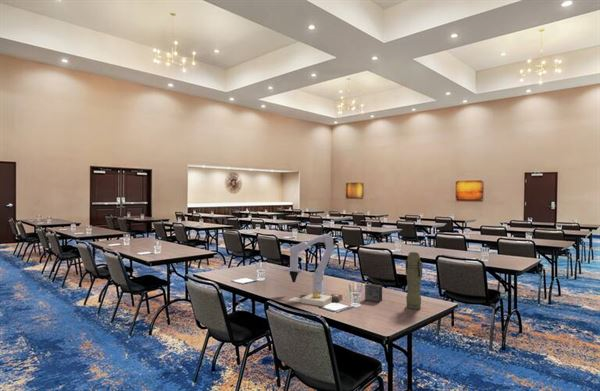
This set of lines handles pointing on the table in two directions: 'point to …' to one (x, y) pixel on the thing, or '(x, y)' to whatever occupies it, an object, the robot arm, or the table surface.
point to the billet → (316, 294)
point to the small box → (373, 292)
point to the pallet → (317, 300)
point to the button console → (336, 298)
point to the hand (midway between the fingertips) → (293, 282)
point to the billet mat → (296, 299)
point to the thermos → (413, 280)
